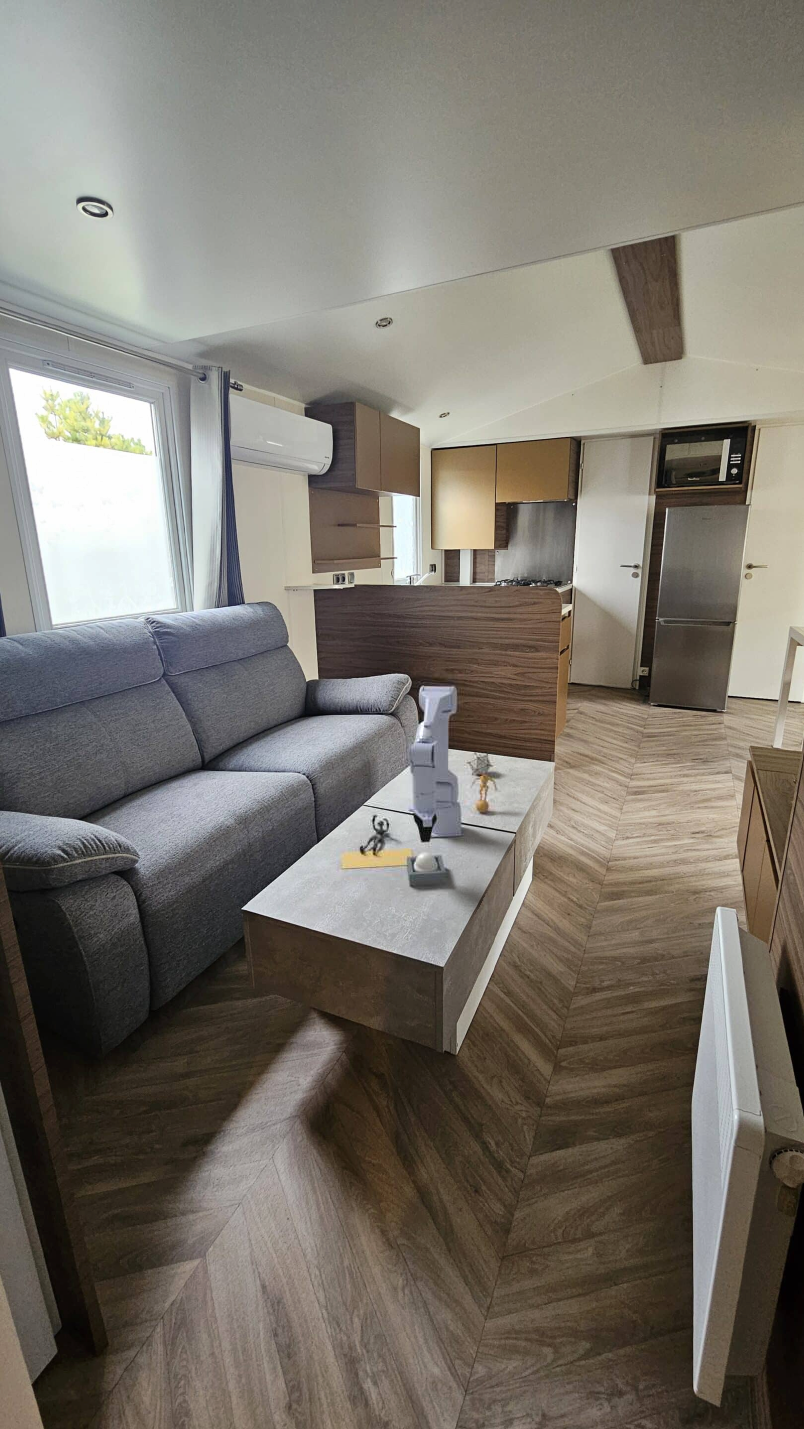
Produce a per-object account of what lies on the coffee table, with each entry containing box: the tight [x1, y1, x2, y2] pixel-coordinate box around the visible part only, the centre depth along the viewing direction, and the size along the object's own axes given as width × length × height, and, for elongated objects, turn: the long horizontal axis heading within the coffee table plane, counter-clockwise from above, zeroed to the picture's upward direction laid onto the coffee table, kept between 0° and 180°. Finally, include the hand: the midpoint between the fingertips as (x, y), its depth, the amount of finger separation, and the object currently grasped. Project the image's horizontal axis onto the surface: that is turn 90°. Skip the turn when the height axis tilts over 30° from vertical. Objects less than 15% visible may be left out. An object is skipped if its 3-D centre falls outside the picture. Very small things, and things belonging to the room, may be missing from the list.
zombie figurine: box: [359, 814, 390, 855], centre depth 174 cm, size 5×7×15 cm
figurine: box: [470, 773, 498, 813], centre depth 193 cm, size 8×6×12 cm
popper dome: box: [414, 851, 438, 872], centre depth 155 cm, size 6×6×5 cm
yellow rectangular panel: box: [341, 848, 414, 870], centre depth 166 cm, size 19×9×1 cm, turn 94°
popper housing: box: [406, 854, 447, 887], centre depth 156 cm, size 9×9×3 cm
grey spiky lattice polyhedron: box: [466, 752, 494, 776], centre depth 224 cm, size 9×8×10 cm
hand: (425, 841), depth 154 cm, fingers closed
